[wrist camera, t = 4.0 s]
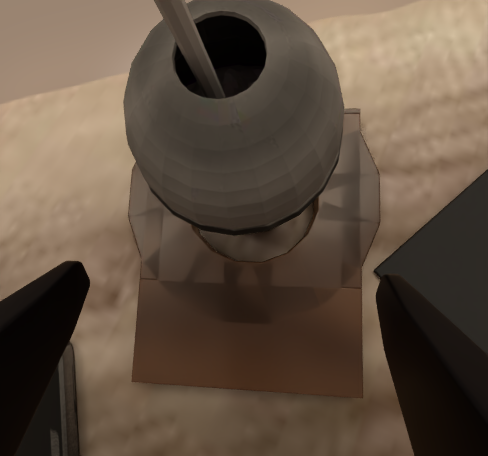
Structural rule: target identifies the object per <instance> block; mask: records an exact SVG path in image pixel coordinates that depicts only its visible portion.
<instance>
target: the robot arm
mask: <svg viewBox="0 0 488 456" xmlns="http://www.w3.org/2000/svg"><path fill="white" fill-rule="evenodd" d="M89 287H90V279H89V277H88V275H87V273H86V271H85V269H84V266H83V264H82V263H81V262H79V261H65V262H63V263H62V264H60V265H58V266H57V267H55V268H53V269H52V270H50V271H49V272H47V273H45V274H44V275H42V276H41V277H39V278H37V279H36V280H34V281H33V282H31V283H29V284H28V285H26V286H24V287H23V288H21V289H20V290H18V291H16V292H15V293H13V294H12V295H10V296H8V297H7V298H5V299H3V300H2V301H0V456H15V454H16V452H17V450H18V448H19V446H20V444H21V442H22V439H23V437H24V435H25V433H26V431H27V429H28V427H29V425H30V423H31V420H32V418H33V416H34V414H35V412H36V410H37V408H38V406H39V404H40V402H41V399H42V397H43V395H44V393H45V391H46V389H47V387H48V385H49V383H50V380H51V378H52V376H53V374H54V372H55V370H56V368H57V366H58V364H59V362H60V359H61V357H62V355H63V353H64V351H65V349H66V347H67V345H68V343H69V340H70V338H71V336H72V334H73V332H74V329H75V326H76V324H77V321H78V318H79V315H80V312H81V310H82V307H83V304H84V301H85V298H86V295H87V293H88V290H89ZM376 304H377V310H378V316H379V322H380V328H381V334H382V340H383V345H384V351H385V354H386V358H387V362H388V365H389V369H390V372H391V376H392V379H393V383H394V386H395V390H396V393H397V397H398V400H399V404H400V407H401V411H402V414H403V417H404V421H405V424H406V428H407V431H408V435H409V438H410V442H411V445H412V449H413V452H414V456H488V354H486V353H485V352H484V351H483V350H482V349H481V348H480V347H479V346H478V345H477V344H475V343H474V342H473V341H472V340H471V339H470V338H469V337H468V336H467V335H466V334H464V333H463V332H462V331H461V330H460V329H459V328H458V327H457V326H456V325H455V324H453V323H452V322H451V321H450V320H449V319H448V318H447V317H446V316H445V315H444V314H442V313H441V312H440V311H439V310H438V309H437V308H436V307H435V306H434V305H433V304H431V303H430V302H429V301H428V300H427V299H426V298H425V297H424V296H423V295H422V294H420V293H419V292H418V291H417V290H416V289H415V288H414V287H413V286H412V285H411V284H409V283H408V282H407V281H406V280H405V279H404V278H403V277H402V276H400V275H399V274H384V275H383V276H382V278H381V281H380V284H379V286H378V289H377V292H376Z"/></svg>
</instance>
